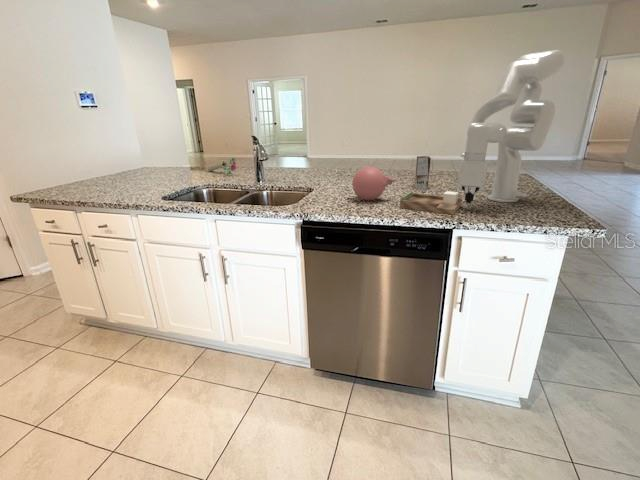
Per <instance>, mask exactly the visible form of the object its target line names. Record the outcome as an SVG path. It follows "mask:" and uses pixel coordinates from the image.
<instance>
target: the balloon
mask: <svg viewBox="0 0 640 480" xmlns="http://www.w3.org/2000/svg"><path fill="white" fill-rule="evenodd" d="M351 182H352V186H351V187H352V190H353V192H354V194H355V195H356V196H357V197H358V198H359V199H362V200H364V201H373V200H376V199H378V198H380V197H381V195H383V193H384V191H385V190H386V187H387V186H389V185H391V186H392V184H393V183H396V182H397V179H395V178H393V176H392V175H389V176H388V175H385V174H384V173H383V171H381V170H380V169H378V168H377V167H374V166H365V167H362V168H360V169H359V170H358V171H357V172H356V173H355V174H354V176H353V178H352V181H351Z"/></svg>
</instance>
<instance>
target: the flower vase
mask: <svg viewBox="0 0 640 480" xmlns="http://www.w3.org/2000/svg"><path fill="white" fill-rule="evenodd" d="M219 169H223V171H227V172H226V175H227V176H229V175H228V174H230V175H231V174H232V172H235V171H236V170H237V169H238V168H237V161H236V158H235V157H231V159H229V163H228V162H226V161H225V160H224V159H222V160H221V161H219V162H218V163H215V164H207V166H206V170H207V171H208V172H209V171H211V172H214V171H215V170H219Z"/></svg>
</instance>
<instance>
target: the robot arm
mask: <svg viewBox="0 0 640 480" xmlns="http://www.w3.org/2000/svg"><path fill="white" fill-rule="evenodd" d="M564 62H565V54H564V52H563V51H562V50H561V49H553V50H545V51H537V52H532V53H526V54H524V55H521V56H520V57H518V59H517V60H514V61H511V62H510V64H509V65H507V67H506V69H505V71H504V73H503V76H502V78H501V80H500V83H499V85H498V87H497V89H496V91H495V93H494V95H493V96H492V97H491V98H489V100H487V101H486V102H485V103H484V104H482V105H481V106H480V107H479V108H478V110H476V111H475V113H474V114H473V116H472V118H471V121H470V122H469V125H468V129H467V131H466V132H467V133H466V135H467V136H466V137H467V138H466V143H465V152H464V153H461V154H460V158H463V160H461V162H460V166H459V170H458V176H457V182H456V183H457V184H456V188H460V189H462V191H464V193H465V195H464V201H465V204H471V203H472V202H473V201H474V196H475V193H477V192H478V191H482V190H485V189H486V182H487V181H486V180H487V173H488V172H487V171H488V163H487V162H488V161H487V160H486V156H487V149H488V144H497V147H498V148H497V149H498V151H497V159H496V164H495V172H494V178H493V184H492V189H491V193H490V194H488V195H487V197H486V198H487V199H488V200H490V201H492V202H498V203H517V202H518V201H519V199H520V198H522V199H523V198H525V199H527V197H528V193H525V192H520V191H518V182H519V178H520V172H521V167H522V156H521V154H520V151H522V152H523V151H524V152H525V151H526V152H536V151H540V150H541V148H542V147H543V145H544V143H545V142H546V139H547V136H548V133H549V131H550V128H551V126H552V123H553V121H554V118H555V113H556V106H555V103H554V102H553V101H552V100H549V99H540V98H541V95H542V91H543V87H542V85H541V82H543V81H545V80H547V79H549V78H551V77H552V76H554V75H556V74H558V72H560V71H561V69H562V68H563V66H564ZM511 107H512V109H511V112H510V117H509V121H510V122H511V123H512V124H515V125H514V126H511V125H510V126H508V127H506V126H505V125H504V124H503V123H499V122H486V121H487V120H488V118H490V117H491V116H492V115H494V114H496V113H498V112H501V111H503V110H505V109H508V108H511ZM517 125H521V126H517ZM522 125H526V126H522ZM527 125H529V126H527ZM531 125H533V126H531ZM470 187H472V189H471V191H470Z"/></svg>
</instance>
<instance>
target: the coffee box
mask: <svg viewBox="0 0 640 480" xmlns="http://www.w3.org/2000/svg"><path fill="white" fill-rule="evenodd" d="M431 159H432V158H431V157H430V155H429V156H428V155H420V156H419V155H417V156H416V163H415V164H416V165H415V179H414V187H415V189H417V190H428V186H429V179H430V168H431Z"/></svg>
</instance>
